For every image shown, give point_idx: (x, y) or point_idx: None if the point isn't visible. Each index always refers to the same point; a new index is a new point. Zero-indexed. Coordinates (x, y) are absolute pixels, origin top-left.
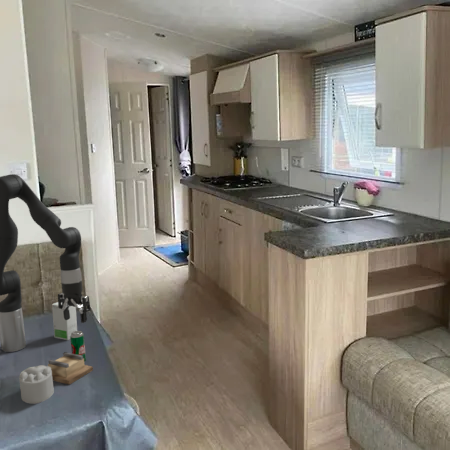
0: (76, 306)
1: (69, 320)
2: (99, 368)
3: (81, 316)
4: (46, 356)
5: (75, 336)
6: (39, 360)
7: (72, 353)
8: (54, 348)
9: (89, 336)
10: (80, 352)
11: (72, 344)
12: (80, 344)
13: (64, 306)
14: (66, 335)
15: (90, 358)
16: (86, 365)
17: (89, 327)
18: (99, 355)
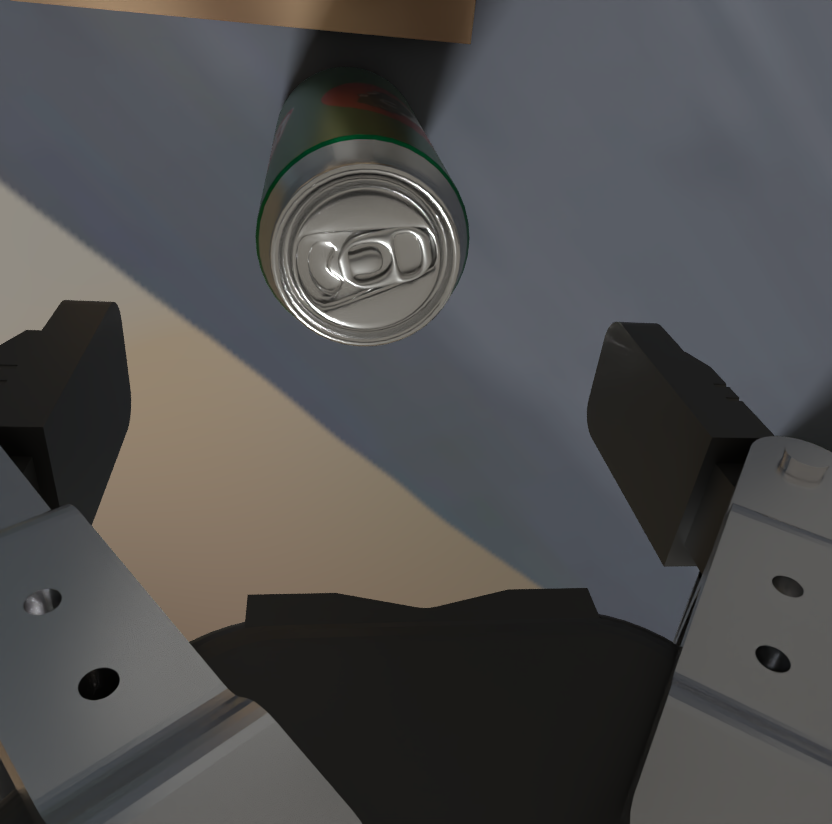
0: (40, 585)
1: None
2: (3, 73)
3: (23, 379)
4: (782, 141)
5: (316, 166)
6: (813, 28)
7: (382, 92)
8: (788, 315)
9: (604, 574)
10: (278, 130)
11: (371, 111)
12: (270, 168)
13: (776, 519)
14: None
15: None
16: (114, 6)
17: None
18: (261, 333)
